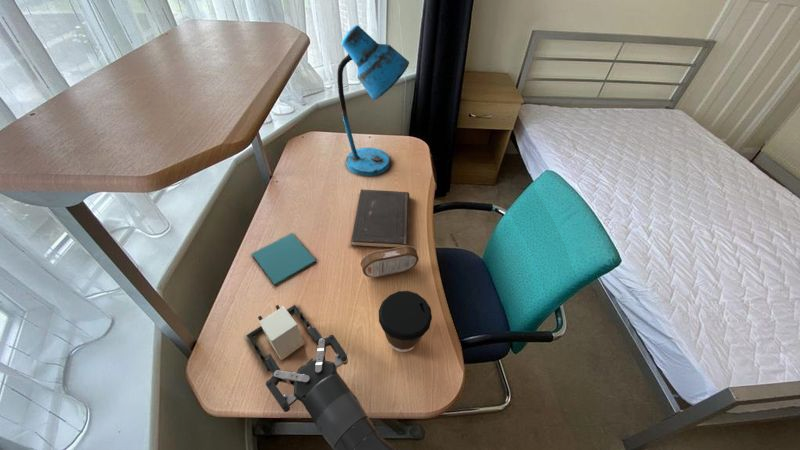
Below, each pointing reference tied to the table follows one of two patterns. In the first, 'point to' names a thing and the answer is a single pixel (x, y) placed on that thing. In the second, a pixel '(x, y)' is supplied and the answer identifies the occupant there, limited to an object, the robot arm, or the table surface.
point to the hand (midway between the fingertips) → (289, 342)
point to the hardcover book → (381, 219)
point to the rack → (258, 330)
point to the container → (282, 332)
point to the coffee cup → (404, 319)
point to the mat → (283, 258)
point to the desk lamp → (369, 90)
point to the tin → (389, 261)
